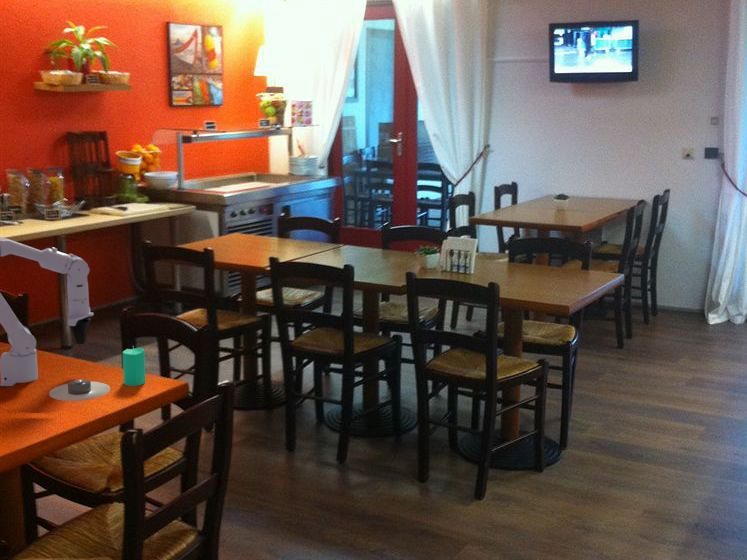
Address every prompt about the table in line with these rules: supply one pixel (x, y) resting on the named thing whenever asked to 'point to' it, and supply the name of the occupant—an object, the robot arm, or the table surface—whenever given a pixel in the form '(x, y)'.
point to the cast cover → (79, 387)
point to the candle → (134, 366)
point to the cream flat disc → (96, 391)
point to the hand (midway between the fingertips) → (80, 343)
